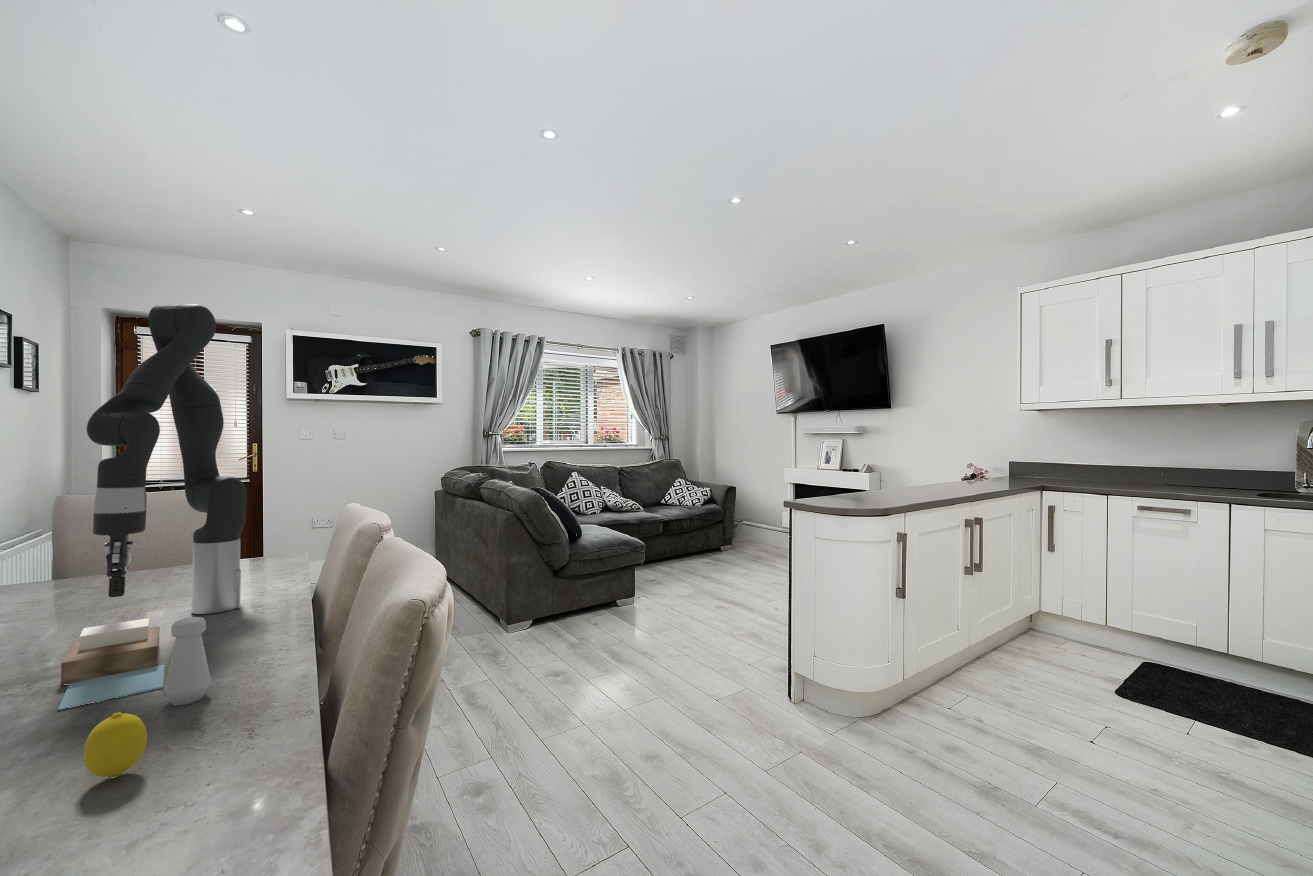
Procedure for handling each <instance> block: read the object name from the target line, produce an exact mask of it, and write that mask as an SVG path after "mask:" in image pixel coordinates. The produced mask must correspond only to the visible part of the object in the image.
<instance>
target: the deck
mask: <svg viewBox="0 0 1313 876" xmlns="http://www.w3.org/2000/svg"><path fill="white" fill-rule="evenodd" d="M160 629H161V628H160V626H155V627H154V626H153V627H149V635H148V639H144V640H138V641H133V642H127V643H121V644H115V645H109V646H103V647H98V648H92V649H86V650H80V651H79V639H73V640H72V642H71V643H70V645H69V647H68V650H67V651H66V654H65V656H64V658H63V659H62V661H61V664H60V665H61V666H60V668H61V669H60V686H61V685H64V684H69V683H73V682H78V681H83V680H88V679H94V678H99V677H104V676H109V675H114V674H119V673H124V672H129V671H134V670H139V669H144V668H149V667H154V666H159V665H158V663H159V652H160Z"/></svg>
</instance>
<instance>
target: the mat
mask: <svg viewBox="0 0 1313 876" xmlns="http://www.w3.org/2000/svg"><path fill="white" fill-rule="evenodd" d="M165 668H166V667H165V664H160V665H157V666H154V667H149V668H144V669H139V670H134V671H129V672H124V673H119V674H114V675H109V676H104V677H99V678H94V679H88V680H83V681H78V682H73V683H69V685H67V688H66V690H65V693H64V694H63V697H62V699H61V701H60V704H59V706H58V708H57V711H58V710H60V709H62V708H68V707H73V706H77V705H82V704H87V703H91V702H97V701H102V700H107V699H110V698H116V697H121V698H123V697H122V696H125V695H130V696H132V695H131V694H134V695H138V694H137V693H139V694H143V693H147V692H151V691H152V690H153V691H157V690H160V689H164V686H165V683H164V681H165ZM71 686H72V687H71ZM142 692H143V693H142ZM70 696H71V697H73V698H75V699H70V698H69V697H70ZM125 697H126V696H125ZM63 698H64V699H63ZM65 698H66V699H65ZM116 699H117V698H116ZM107 701H108V700H107ZM102 702H103V701H102ZM61 707H62V708H61Z"/></svg>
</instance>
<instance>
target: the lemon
mask: <svg viewBox="0 0 1313 876" xmlns="http://www.w3.org/2000/svg"><path fill="white" fill-rule="evenodd" d="M147 734H148V733H147V729H146V726H145V724H144V722H143V720H142V719H141V718H140V717H138V716H137V715H134V714H131V713H122V712H120V711H119V712H115V713H113V714H112V715H111V716H108V717H107V718H105V719H104V720H102V721H100V722H99V723H98V724H97V725H96V726H95V727H94V728H93V729H92V730H91V732H90V733H89V734H88V736H87V738H86V741H85V745H84V749H83V764H84V767H85V769H87V771H89V773H90V774H92V775H94V776H97V777H108V778H110V779H112V778H111V777H116V776H119V775H120V776H121V775H122V774H123V773H124V772H125V771H127V770H129V769H130V768H131V767H132V766H134V765H135V764H136V763H138V761H139V759H140V758H141V756H142V755H143V753H144V750H145V748H146V745H147V741H148V740H147V739H148V735H147ZM120 776H119V777H120Z"/></svg>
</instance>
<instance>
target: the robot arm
mask: <svg viewBox="0 0 1313 876" xmlns="http://www.w3.org/2000/svg"><path fill="white" fill-rule="evenodd" d="M148 327H149V331H150V334H151V337H152V341H153V344H154V347H155V350H156V353H154V354H153V355H151V356H150V357H148V358H147V359H145V360H143V362H141V363H140V364H139V365H138V366H136V367H135V368H134V370H133V371H132V373H131V374H130V375H129V377H128V378H127V380H126V381H125V383H124V385H123V386H122V388H121V390H120V391H119V392H118V393H116V394H114V395H113V396H112V397H111V398H109V399H108V400H107V401H106V402H104V403H103V404H102V405H101V406H100V407H99V408H97V409H96V410H95V411H94V413H92V415H90V417H89V419H88V421H87V424H86V434H87V436H88V438H89V439H90V441H92V442H93V443H95V444H97V445H101V446H107V447H108V446H111V447H112V446H113V447H115V446H116V447H117V446H118V447H126V448H125V449H124V452H123V453H122V454H121V455H118V456H114V457H109V458H105V459H102V460H101V461H100V462H99V463H98V465H97V478H96V479H97V480H96V491H95V495H94V502H93V521H92V522H93V523H92V533H93V535H95V536H103V537H104V536H108V537H109V542H105V544H104V546H103V554H105V561H104V562H105V563H104V566H105V568H107V569H106V576H107V579H108V597H109V598H117V597H118V598H119V597H123V596H124V595H125V593H126V578H127V575H128V573H129V572H128V570H129V565H130V563H131V560H132V550H133V549H134V540H129V535H130V534H131V535H135V534H139V533H142V532H145V530H146V524H147V522H146V521H147V503H148V502H147V501H148V497H147V496H148V495H147V491H146V490H147V489H146V488H147V487H146V486H147V485H146V483H147V468H148V464H149V462H150V460H151V457H152V454H153V451H154V449H155V446H156V445H157V442H158V440H159V438H160V437H159V436H160V434H161V433H160V432H161V428H160V427H161V426H160V423H159V421H158V419H157V418H156V417H155V416H154V415H153V414H152V413H155V412H158V411H159V410H161V409H162V407H163V405H164V404H165V403H166V400H167V399H168V397H169V402H170V408H171V412H172V417H173V422H174V426H175V429H176V433H177V439H178V444H179V450H180V454H181V459H182V467H183V479H184V480H183V482H184V493H185V497H186V501H187V503H188V505H189V507H190V508H192V509H193V510H194V511H196V512H198V513H206V517H205V518H206V519H205V523H204V524H203V525H202V526H201V527H199V528H197V529H196V530H194V532H193V533H192V535H193V536H192V537H193V538H192V574H191V575H192V580H191V581H192V582H191V583H192V584H191V613H192V614H196V615H210V614H217V613H222V612H226V611H230V610H234V609H238V608H241V590H242V589H241V586H242V583H241V581H242V580H241V579H242V576H241V575H242V570H241V535H242V534H241V533H242V531H243V529H244V526H245V523H246V513H247V500H248V498H247V497H248V495H247V494H248V493H247V489H246V486H245V484H244V483H243V481H241V480H240V479H239V478H237V477H233V476H221V475H220V473H219V469H218V464H217V454H216V453H217V448H218V444H219V442H220V440H221V436H222V434H223V429H224V423H225V422H224V415H223V410H222V409H223V408H222V404H221V401H220V397H219V395H218V393H217V392H216V391H215V390H214V388H213V387H212V386H211V385H210V384H209V383H208V382H207V381H206V380H205V379H204V378H203V377H202V376H201V374H200V373H198V371H197V370H196V369H195V368H194V366H193V365H192V362H193V361H194V360H195V359H196V358H197V357H198V355H199V354H200V353H201V352H202V351H203V350H204V348H206V347H207V345H208V344H209V343H210V342H211V341H212V339H213V338H214V336H215V333H216V331H217V322H216V319H215V316H214V315H213V312H212V311H211V310H210V309H209V308H208V307H206V306H204V305H203V304H198V303H176V304H158V305H154V306H153V307H152V308H151V309H150V310H149V313H148Z"/></svg>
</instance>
